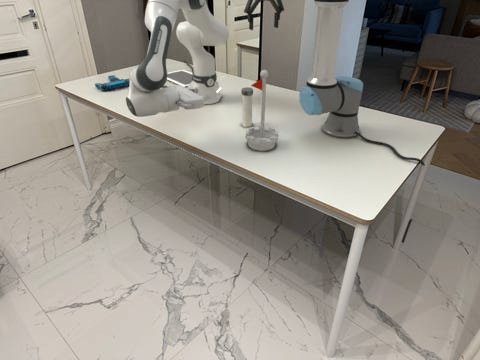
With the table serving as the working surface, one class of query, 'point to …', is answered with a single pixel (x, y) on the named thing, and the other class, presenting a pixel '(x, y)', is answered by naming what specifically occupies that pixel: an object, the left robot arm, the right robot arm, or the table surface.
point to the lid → (247, 91)
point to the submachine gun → (112, 83)
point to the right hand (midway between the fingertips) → (263, 28)
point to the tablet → (180, 77)
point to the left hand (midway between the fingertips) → (203, 93)
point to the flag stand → (262, 123)
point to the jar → (246, 111)
